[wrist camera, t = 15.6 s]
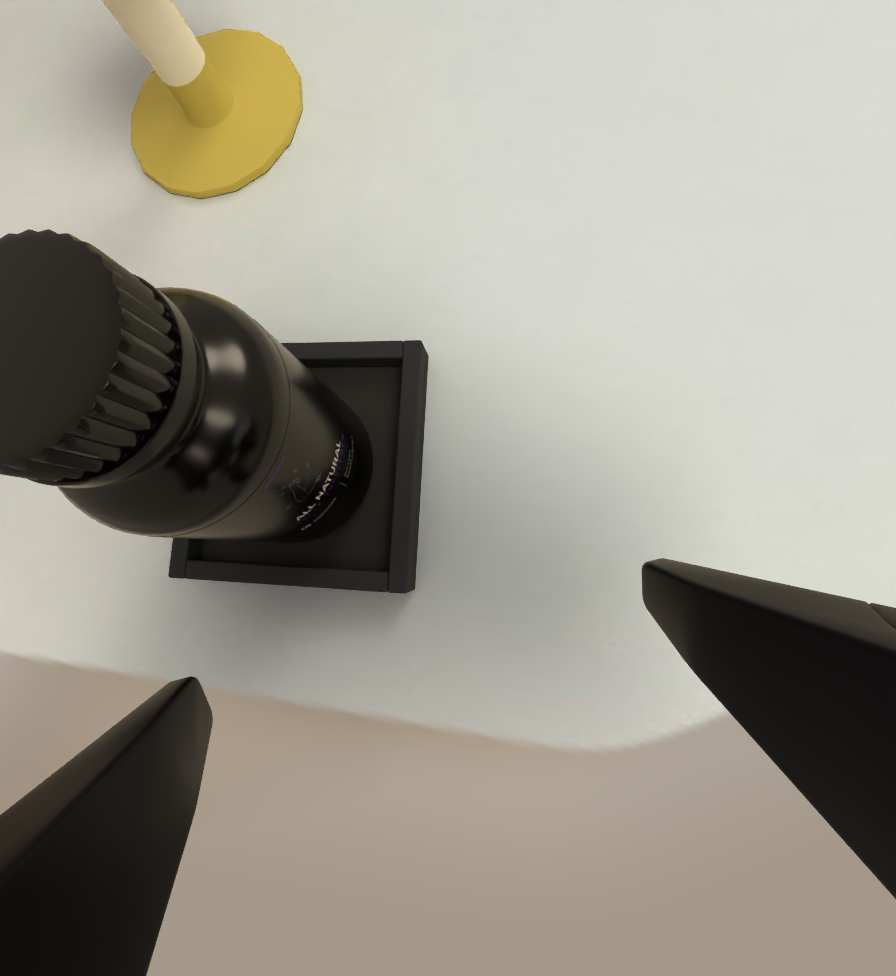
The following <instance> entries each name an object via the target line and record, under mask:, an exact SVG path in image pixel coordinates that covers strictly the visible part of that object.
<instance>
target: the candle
mask: <svg viewBox="0 0 896 976" xmlns="http://www.w3.org/2000/svg"><path fill="white" fill-rule="evenodd" d="M102 1H103V3H104V4H105V5H106V7H107V8H108V9H109V11H110V12H111V13H112V15H113V16H114V17H115V19H116V20H117V21H118V23H119V24H120V25H121V27H122V28H123V29H124V31H125V32H126V33H127V35H128V36H129V37H130V39H131V40H132V41H133V43H134V44H135V45H136V47H137V48H138V49H139V51H140V52H141V53H142V55H143V56H144V57H145V59H146V60H147V61H148V63H149V64H150V65H151V67H152V68H153V69H154V72H153V73H152V74H151V75H150V76H149V78H148V79H147V80H146V81H145V82H144V84H143V87H142V89H141V92H140V94H139V97H138V99H137V102H136V104H135V107H134V109H133V112H132V143H131V144H132V146H133V149H134V151H135V153H136V155H137V157H138V159H139V162H140V164H141V166H142V168H143V170H144V172H145V174H146V175H147V176H149V177H150V178H151V179H153V180H154V181H155V182H157V183H158V184H159V185H161V186H162V187H163V188H165V189H166V190H167V191H169V192H170V193H173V194H179V195H184V196H190V197H195V198H201V199H202V198H207V197H211V196H216V195H220V194H225V193H229V192H234V191H237V190H238V189H240V188H241V187H243V186H244V185H246V184H248V183H249V182H251V181H252V180H254V179H256V178H257V177H259V176H260V175H262V174H264V173H265V172H267V171H268V170H269V168H270V167H271V166H272V165H273V164H274V162H275V161H276V160H277V159H278V157H279V156H280V155H281V154H282V153H283V151H284V150H285V149H286V148H287V146H288V145H289V144H290V143H291V140H292V138H293V135H294V132H295V129H296V126H297V124H298V121H299V118H300V115H301V112H302V110H303V109H302V92H301V78H300V75H299V73H298V72H297V70H296V68H295V67H294V65H293V63H292V61H291V60H290V58H289V56H288V55H287V53H286V51H285V49H284V48H283V47H282V46H280V45H278V44H277V43H275V42H273V41H272V40H270V39H268V38H267V37H265V36H263V35H262V34H260V33H258V32H253V31H243V30H233V29H224V30H221V31H217V32H214V33H210V34H206V35H203V36H199V37H195V36H194V35H193V33H192V32H191V30H190V28H189V27H188V25H187V23H186V22H185V20H184V19H183V17H182V15H181V14H180V12H179V11H178V9H177V7H176V6H175V4H174V3H173V1H172V0H102Z"/></svg>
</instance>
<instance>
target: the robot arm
mask: <svg viewBox="0 0 896 976" xmlns="http://www.w3.org/2000/svg"><path fill="white" fill-rule="evenodd" d="M642 595H643V601H644V604H645V606H646V608H647V610H648V611H649V612H650V614H651V615H652V616H653V618H654V619H655V621H656V622H657V623H658V625H659V626H660V627H661V629H662V630H663V632H664V633H665V634H666V636H667V637H668V638H669V640H670V641H671V643H672V644H673V645H674V647H675V648H676V649H677V651H678V652H679V654H680V655H681V656H682V658H683V659H684V660H685V662H686V663H687V664H688V665H689V667H690V668H691V669H692V670H693V671H694V673H695V674H696V675H697V676H698V677H699V679H700V680H701V681H702V682H703V683H704V684H705V685H706V686H707V688H708V689H709V690H710V691H711V692H712V693H713V694H714V695H715V697H716V698H717V699H718V700H719V701H720V702H721V703H722V704H723V705H724V707H725V708H726V709H727V710H728V711H729V712H730V713H731V714H732V716H733V717H734V718H735V719H736V720H737V721H738V722H739V723H740V725H741V726H742V727H743V728H744V729H745V730H746V731H747V732H748V734H749V735H750V736H751V737H752V738H753V739H754V740H755V741H756V743H757V744H758V745H759V746H760V747H761V748H762V749H763V750H764V751H765V753H766V754H767V755H768V756H769V757H770V758H771V759H772V761H773V762H774V763H775V764H776V765H777V766H778V767H779V768H780V770H781V771H782V772H783V773H784V774H785V775H786V776H787V777H788V778H789V780H790V781H791V782H792V783H793V784H794V785H795V786H796V787H797V789H798V790H799V791H800V792H801V793H802V794H803V795H804V796H805V798H806V799H807V800H808V801H809V802H810V803H811V804H812V805H813V807H814V808H815V809H816V810H817V811H818V812H819V813H820V814H821V815H822V817H823V818H824V819H825V820H826V821H827V822H828V823H829V825H830V826H831V827H832V828H833V829H834V830H835V831H836V832H837V833H838V835H840V837H841V838H842V839H843V840H844V841H845V843H846V844H847V845H848V846H849V847H850V848H851V849H852V850H853V851H854V853H855V854H856V855H857V856H858V857H859V858H860V859H861V860H862V862H863V863H864V864H865V865H866V866H867V867H868V868H869V869H870V870H871V872H872V873H873V874H874V875H875V876H876V877H877V878H878V880H879V881H880V882H881V883H882V884H883V885H884V886H885V887H886V889H887V890H888V891H889V892H890V893H891V894H892V895H893V896H894V898H895V899H896V608H893V607H888V606H884V605H879V604H874V603H870V604H868V603H867V602H864V601H860V600H855V599H851V598H846V597H841V596H837V595H832V594H827V593H823V592H818V591H813V590H809V589H804V588H799V587H795V586H790V585H785V584H781V583H776V582H771V581H767V580H762V579H757V578H753V577H748V576H743V575H739V574H734V573H729V572H725V571H720V570H715V569H711V568H706V567H701V566H697V565H692V564H687V563H683V562H678V561H673V560H669V559H663V558H662V559H656V560H653V561H649V562H646V563H644V565H643V566H642ZM212 721H213V718H212V711H211V708H210V706H209V703H208V701H207V699H206V696H205V694H204V691H203V689H202V687H201V684H200V682H199V680H198V679H197V678H195V677H187V678H183V679H179V680H175V681H172V682H170V683H168V684H167V685H165V686H164V687H163V688H162V689H160V690H159V691H158V692H157V693H155V694H154V695H153V696H151V697H150V698H149V699H148V700H147V701H145V702H144V703H143V704H141V705H140V706H139V707H137V708H136V709H135V710H134V711H132V712H131V713H130V714H129V715H127V716H126V717H125V718H123V719H122V720H121V721H120V722H118V723H117V724H116V725H115V726H113V727H112V728H111V729H109V730H108V731H107V732H106V733H104V734H103V735H102V736H101V737H99V738H98V739H97V740H95V741H94V742H93V743H92V744H90V745H89V746H88V747H87V748H85V749H84V750H83V751H81V752H80V753H79V754H78V755H76V756H75V757H74V758H73V759H71V760H70V761H69V762H67V763H66V764H65V765H64V766H62V767H61V768H60V769H59V770H57V771H56V772H55V773H53V774H52V775H51V776H50V777H48V778H47V779H46V780H44V781H43V782H42V783H41V784H39V785H38V786H37V787H36V788H34V789H33V790H32V791H30V792H29V793H28V794H27V795H25V796H24V797H23V798H22V799H20V800H19V801H18V802H16V803H15V804H14V805H13V806H11V807H10V808H9V809H8V810H6V811H5V812H4V813H3V814H1V815H0V976H146V974H147V971H148V968H149V964H150V961H151V958H152V954H153V951H154V948H155V944H156V941H157V937H158V934H159V931H160V928H161V924H162V921H163V918H164V914H165V911H166V908H167V904H168V901H169V898H170V894H171V891H172V888H173V884H174V881H175V878H176V874H177V871H178V868H179V864H180V861H181V858H182V854H183V851H184V847H185V844H186V841H187V837H188V834H189V830H190V827H191V824H192V820H193V816H194V813H195V809H196V805H197V800H198V796H199V791H200V785H201V780H202V775H203V770H204V764H205V760H206V754H207V749H208V744H209V738H210V734H211V728H212Z"/></svg>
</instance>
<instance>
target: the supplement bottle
mask: <svg viewBox="0 0 896 976" xmlns="http://www.w3.org/2000/svg"><path fill="white" fill-rule="evenodd" d="M0 474H2V475H8V476H15V477H21V478H27V479H29V480H31V481H34V482H37V483H41V484H46V485H51V486H57V487H58V488H59V490H60V491H61V492H62V493H63V494H64V496H65V497H66V498H67V499H68V500H69V501H70V502H71V503H72V504H73V505H75V506H76V507H77V508H78V509H79V510H81V511H82V512H83V513H85V514H86V515H87V516H89V517H90V518H92V519H94V520H96V521H97V522H99V523H101V524H103V525H105V526H108V527H110V528H112V529H115V530H119V531H122V532H125V533H131V534H136V535H143V536H153V537H170V538H190V539H210V540H230V541H251V542H271V543H301V542H308V541H312V540H316V539H319V538H322V537H324V536H326V535H328V534H330V533H332V532H334V531H335V530H337V529H338V528H340V527H341V526H342V525H344V524H345V523H346V522H347V521H348V520H349V519H350V518H351V517H352V516H353V515H354V514H355V512H356V511H357V510H358V508H359V507H360V505H361V504H362V502H363V500H364V498H365V496H366V494H367V492H368V489H369V487H370V483H371V479H372V474H373V450H372V445H371V441H370V438H369V435H368V433H367V430H366V428H365V426H364V425H363V423H362V421H361V420H360V419H359V417H358V416H357V415H356V413H355V412H354V411H353V410H352V409H351V408H350V407H349V406H348V405H347V404H346V403H345V402H344V401H343V400H342V399H341V398H340V397H338V396H337V395H336V394H335V393H334V392H333V391H332V390H331V389H330V388H329V387H328V386H326V385H325V384H324V383H323V382H322V381H321V380H320V379H319V378H318V377H317V376H316V375H314V374H313V373H312V372H311V371H310V370H309V369H308V368H307V367H306V366H305V365H304V364H302V363H301V362H300V361H299V360H298V359H297V358H296V357H295V356H294V355H293V354H292V353H290V352H289V351H288V350H287V349H286V348H285V347H284V346H283V345H282V344H281V343H280V342H278V341H277V340H276V339H275V338H274V337H273V336H272V335H271V334H270V333H269V332H267V331H266V330H265V329H264V328H263V327H262V326H261V325H260V324H259V323H258V322H256V321H255V320H254V319H253V318H251V317H250V316H249V315H248V314H246V313H245V312H244V311H242V310H241V309H240V308H238V307H237V306H235V305H234V304H232V303H230V302H228V301H226V300H224V299H222V298H220V297H217V296H215V295H212V294H209V293H205V292H202V291H197V290H192V289H186V288H172V287H168V288H155V287H154V286H152V285H151V284H149V283H148V282H147V281H145V280H143V279H142V278H140V277H138V276H136V275H134V274H131V273H130V272H129V271H127V270H126V269H125V268H123V267H122V266H121V265H119V264H118V263H116V262H115V261H114V260H112V259H111V258H110V257H108V256H107V255H106V254H104V253H103V252H102V251H100V250H99V249H97V248H96V247H94V246H92V245H91V244H89V243H87V242H83V241H81V240H79V239H78V238H76V237H74V236H72V235H70V234H57V233H56V232H54V231H52V230H49V229H48V230H44V231H40V232H36V231H33V230H26V231H24V232H22V233H19V234H7V235H5V236H4V237H2V238H1V239H0Z"/></svg>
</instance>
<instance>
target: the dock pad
mask: <svg viewBox="0 0 896 976" xmlns="http://www.w3.org/2000/svg"><path fill="white" fill-rule="evenodd" d="M281 344H282V345H283V346H284V347H285V348H286V349H287V350H288V351H289V352H290V353H292V354H293V355H294V356H295V357H296V358H297V359H298V360H299V361H300V362H301V363H302V364H304V365H305V366H306V367H307V368H308V369H309V370H310V371H311V372H312V373H313V374H314V375H316V376H317V377H318V378H319V379H320V380H321V381H322V382H323V383H324V384H325V385H326V386H328V387H329V388H330V389H331V390H332V391H333V392H334V393H335V394H336V395H337V396H338V397H340V398H341V399H342V400H343V401H344V402H345V403H346V404H347V405H348V406H349V407H350V408H351V409H352V410H353V411H354V412H355V413H356V415H357V416H358V417H359V419H360V420H361V421H362V423H363V425H364V426H365V428H366V430H367V433H368V435H369V438H370V441H371V445H372V450H373V474H372V479H371V483H370V487H369V489H368V492H367V494H366V496H365V498H364V500H363V502H362V504H361V505H360V507H359V508H358V510H357V511H356V512H355V514H354V515H353V516H352V517H351V518H350V519H349V520H348V521H347V522H346V523H345V524H344V525H342V526H341V527H340V528H338V529H337V530H335V531H334V532H332V533H330V534H328V535H326V536H324V537H322V538H319V539H316V540H312V541H308V542H301V543H271V542H251V541H230V540H210V539H190V538H173V543H172V551H171V559H170V567H169V575H168V576H169V577H170V578H187V579H199V580H214V581H228V582H243V583H258V584H272V585H287V586H302V587H316V588H331V589H346V590H361V591H375V592H387V591H388V592H390V593H404V594H405V593H407V592H410V591H412V590H414V589H415V579H416V562H417V544H418V527H419V509H420V492H421V475H422V457H423V440H424V422H425V405H426V388H427V370H428V354H427V352H426V350H425V348H424V346H423V343H422V341H420V340H415V341H404V342H403V341H371V342H322V343H281Z"/></svg>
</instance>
